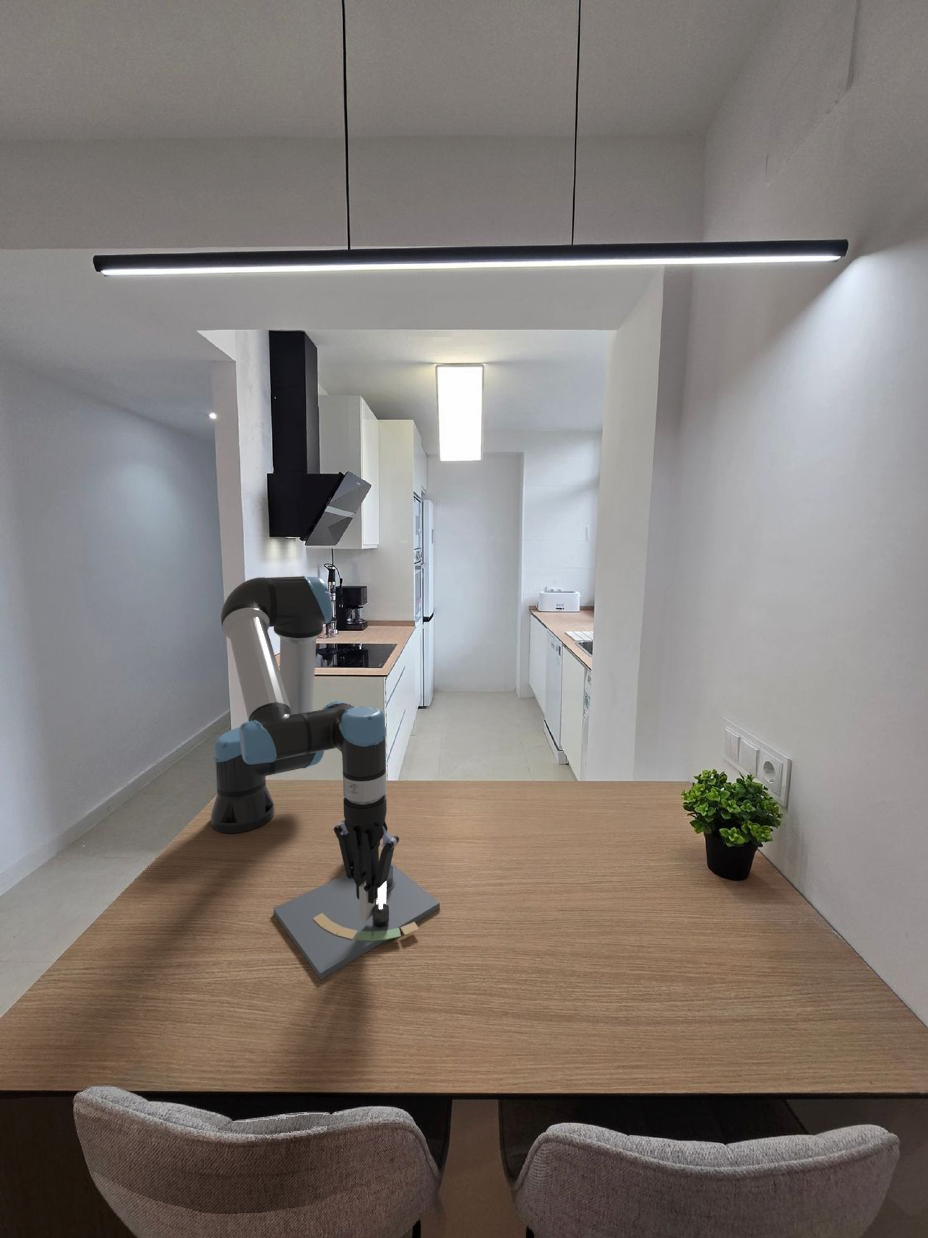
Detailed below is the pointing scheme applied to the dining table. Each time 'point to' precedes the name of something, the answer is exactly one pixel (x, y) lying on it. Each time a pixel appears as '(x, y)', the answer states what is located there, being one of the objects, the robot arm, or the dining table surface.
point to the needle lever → (382, 903)
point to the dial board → (349, 920)
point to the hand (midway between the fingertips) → (367, 915)
